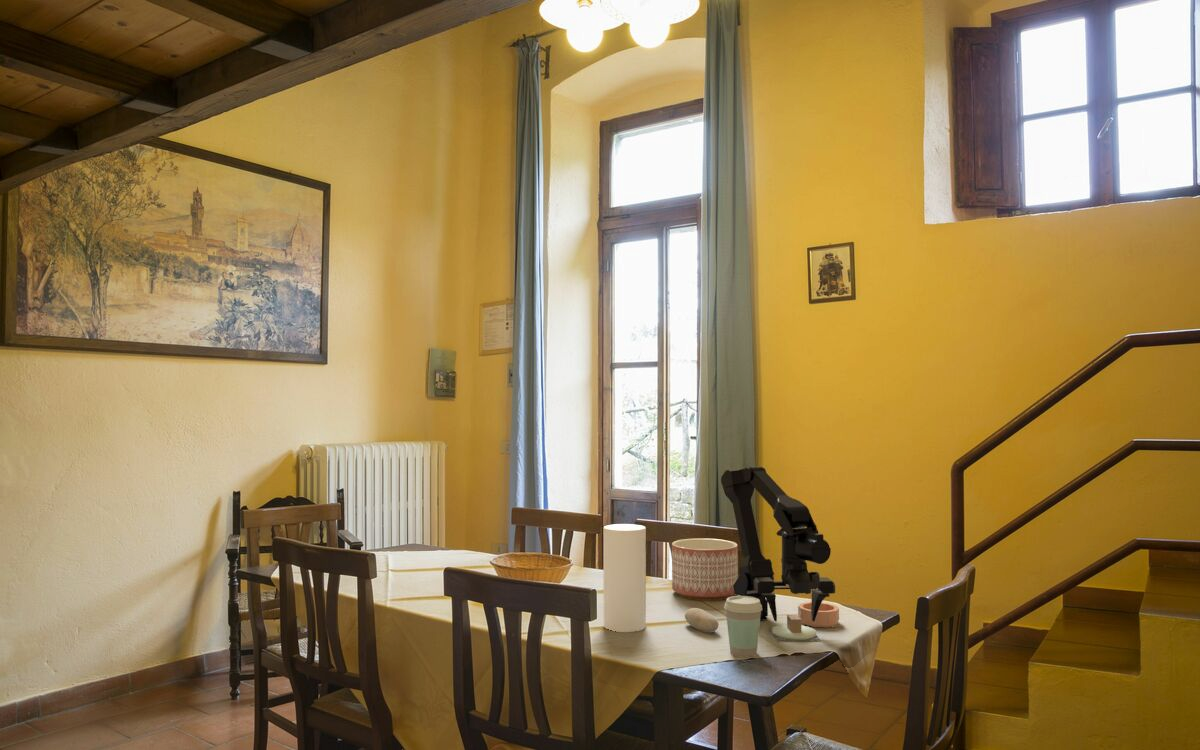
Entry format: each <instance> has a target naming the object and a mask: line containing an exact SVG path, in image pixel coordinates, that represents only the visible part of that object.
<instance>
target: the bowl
mask: <svg viewBox="0 0 1200 750" xmlns="http://www.w3.org/2000/svg"><path fill="white" fill-rule="evenodd" d="M811 602H812V601H808V602H802V603H799V605H798V606H797V608H798V609H797V611H798V612H797V615H798V616H799V617H800V619H801V625H803V624H804V625H803V626H805V625H807V627H809V626H813V627H812V628H816V627H831V628H833V627H832V626H836V625H838V626H839V620H840V608H839V607H838V606H837V605H836V604H831V603H828V602H822V603H821V605H820V607H819V610H818V613H817V615H816V618H815V621H812V617H811ZM836 627H837V626H836Z"/></svg>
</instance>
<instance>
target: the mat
mask: <svg viewBox="0 0 1200 750" xmlns="http://www.w3.org/2000/svg"><path fill="white" fill-rule="evenodd" d="M769 629H770V630H769ZM772 629H773V627H769V628H768V630H769V631H770V632H771V633H772ZM773 636H774V637H775V639H776V638H777V639H776V640H777V641H778V642H818V641H817V640H820V641H821V638H820V637H819V636H818V635H817V634H816V637H814V638H811V639H806V640H792V639H785V638H781V637H778V636H776V635H773ZM810 640H811V641H810ZM812 640H814V641H812Z"/></svg>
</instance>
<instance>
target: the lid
mask: <svg viewBox="0 0 1200 750" xmlns="http://www.w3.org/2000/svg"><path fill="white" fill-rule="evenodd" d="M772 628H773V629H772V632H771V634H772V635H773V634H774V635H776V636H778V637H781V638H785V639H792V640H806V639H811V638H814V637H816V635H817V630H816V629H815V628H814V627H809V626H805V625H803V624H801V619H800V617H799V616H798V614H787V615H786V624H778V625H776V626H773V627H772ZM774 635H773V636H774Z"/></svg>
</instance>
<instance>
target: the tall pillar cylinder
mask: <svg viewBox="0 0 1200 750" xmlns="http://www.w3.org/2000/svg"><path fill="white" fill-rule="evenodd" d="M646 529H647V528H646V526H644V525H640V524H634V523H631V524H630V523H615V524H608V525H604V527H603V628H604V627H605V628H606V629H605V628H604V629H605V630H607V629H609V630H608V631H610V630H612V631H611V632H615V631H616V632H617V633H634V632H635V631H636V632H639V631H643V630H645V629H646V627H647V619H646V618H647V613H646V612H647V604H646V603H647V601H646V599H647V594H646V593H647V591H646V589H647V586H646V585H647V581H646V580H647V579H646V577H647V570H646V569H647V568H646V567H647V565H646V564H647V563H646V562H647V561H646V560H647V558H646V554H647V551H646V550H647V549H646V548H647V547H646V546H647V545H646V541H647V539H646V538H647V537H646V535H647V533H646V531H647V530H646Z"/></svg>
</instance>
